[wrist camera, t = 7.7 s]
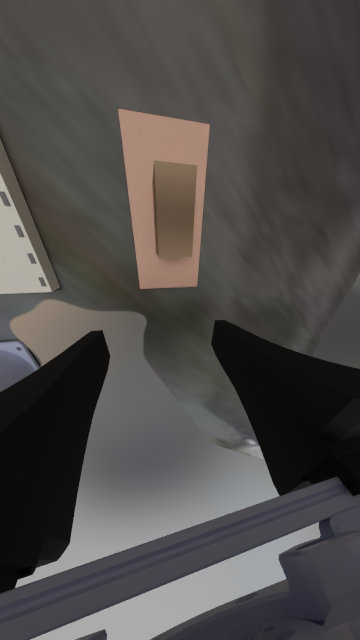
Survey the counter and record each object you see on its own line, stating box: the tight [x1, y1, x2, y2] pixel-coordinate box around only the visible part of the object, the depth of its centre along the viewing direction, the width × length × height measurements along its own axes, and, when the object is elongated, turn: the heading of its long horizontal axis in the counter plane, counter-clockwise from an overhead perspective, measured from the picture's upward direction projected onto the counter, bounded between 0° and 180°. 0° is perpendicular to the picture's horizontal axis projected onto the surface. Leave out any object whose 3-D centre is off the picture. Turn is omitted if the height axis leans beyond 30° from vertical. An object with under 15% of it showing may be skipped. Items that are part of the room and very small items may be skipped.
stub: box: [118, 109, 210, 289], centre depth 12 cm, size 12×6×6 cm, turn 179°
